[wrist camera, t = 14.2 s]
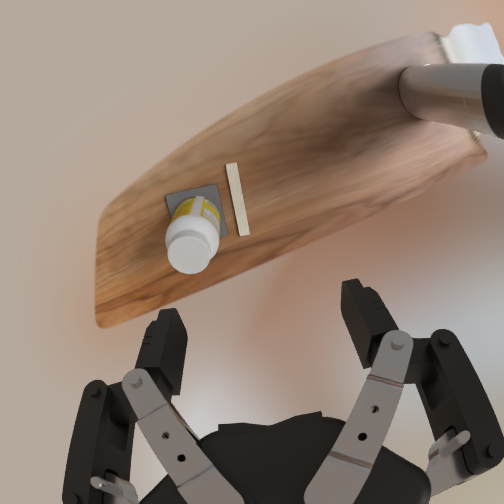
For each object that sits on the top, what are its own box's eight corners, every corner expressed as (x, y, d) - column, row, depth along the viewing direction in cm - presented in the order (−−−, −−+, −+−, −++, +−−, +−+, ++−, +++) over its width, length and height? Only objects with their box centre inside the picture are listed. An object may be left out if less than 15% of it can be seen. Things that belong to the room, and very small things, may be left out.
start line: (236, 162, 36) (236, 162, 35) (249, 233, 41) (249, 234, 41) (225, 164, 36) (225, 164, 35) (239, 235, 41) (239, 236, 41)
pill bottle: (169, 224, 39) (150, 266, 29) (188, 186, 36) (172, 217, 26) (207, 242, 41) (202, 289, 31) (228, 207, 38) (229, 245, 28)
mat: (216, 183, 37) (216, 184, 37) (227, 234, 41) (227, 235, 41) (165, 194, 37) (165, 195, 37) (180, 243, 41) (179, 244, 41)
